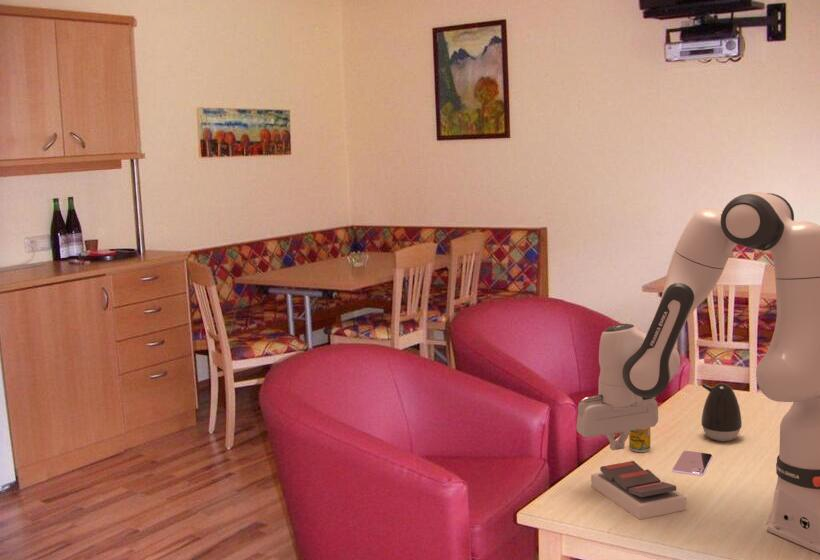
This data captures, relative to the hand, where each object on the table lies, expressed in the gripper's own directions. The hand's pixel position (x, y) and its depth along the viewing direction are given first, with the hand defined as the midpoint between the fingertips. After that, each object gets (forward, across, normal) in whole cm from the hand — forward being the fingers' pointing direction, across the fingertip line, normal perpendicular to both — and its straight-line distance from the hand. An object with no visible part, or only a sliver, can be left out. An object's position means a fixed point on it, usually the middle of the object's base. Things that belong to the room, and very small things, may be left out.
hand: (617, 448), depth 214 cm
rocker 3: (+5, 0, -14) cm, 15 cm away
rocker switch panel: (+9, 0, -8) cm, 12 cm away
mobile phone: (+10, +24, +4) cm, 26 cm away
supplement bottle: (+9, +18, +18) cm, 27 cm away
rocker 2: (+5, 0, -8) cm, 10 cm away
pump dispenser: (+9, +42, +16) cm, 46 cm away
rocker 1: (+5, 0, -2) cm, 5 cm away
